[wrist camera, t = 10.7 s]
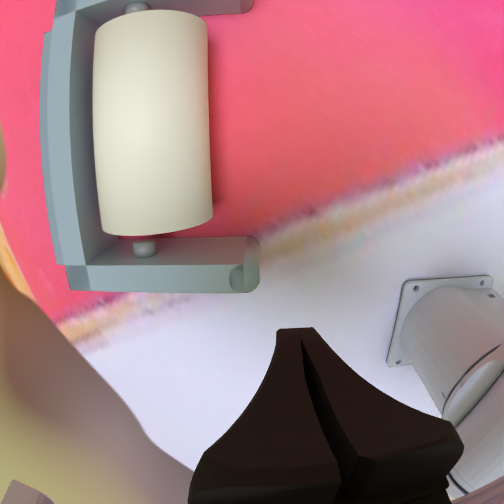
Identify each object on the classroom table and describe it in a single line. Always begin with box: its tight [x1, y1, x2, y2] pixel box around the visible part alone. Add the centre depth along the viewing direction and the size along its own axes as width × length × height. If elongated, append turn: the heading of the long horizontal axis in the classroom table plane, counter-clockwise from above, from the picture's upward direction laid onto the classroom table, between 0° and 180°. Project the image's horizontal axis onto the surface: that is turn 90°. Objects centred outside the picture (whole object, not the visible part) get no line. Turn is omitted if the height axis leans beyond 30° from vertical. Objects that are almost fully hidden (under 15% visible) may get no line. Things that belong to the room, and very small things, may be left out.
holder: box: [40, 0, 260, 293], centre depth 16 cm, size 15×18×5 cm
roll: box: [93, 10, 213, 236], centre depth 15 cm, size 12×6×6 cm, turn 1°
